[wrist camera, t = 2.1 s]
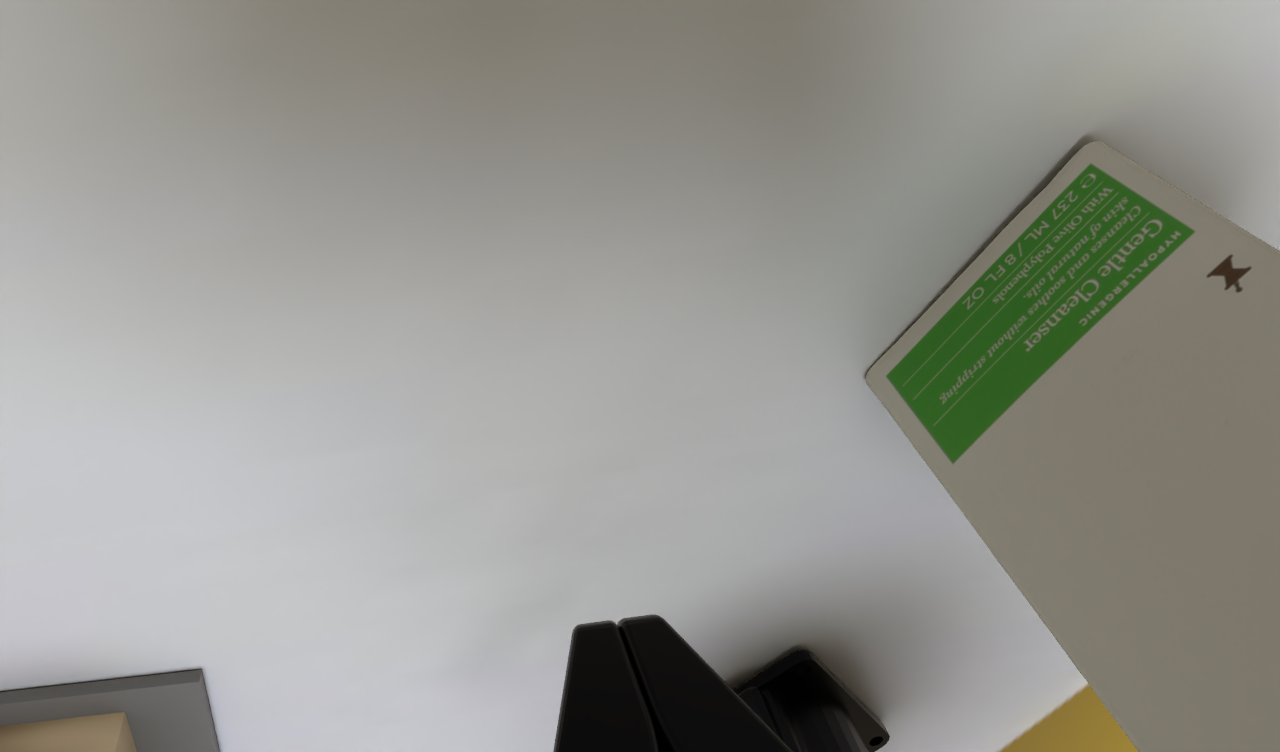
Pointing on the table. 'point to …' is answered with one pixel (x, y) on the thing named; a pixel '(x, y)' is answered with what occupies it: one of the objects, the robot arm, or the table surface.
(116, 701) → the gray board
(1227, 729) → the skincare box
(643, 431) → the table surface
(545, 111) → the table surface
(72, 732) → the pine block
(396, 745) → the table surface
